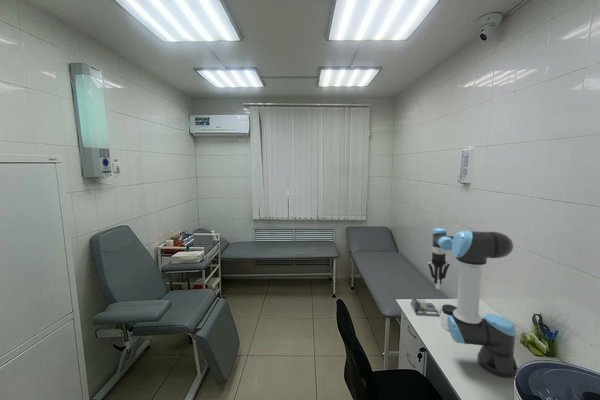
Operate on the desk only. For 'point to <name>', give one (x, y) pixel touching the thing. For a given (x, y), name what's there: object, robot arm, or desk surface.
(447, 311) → the jar
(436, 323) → the desk surface
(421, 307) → the block
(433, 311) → the bench
